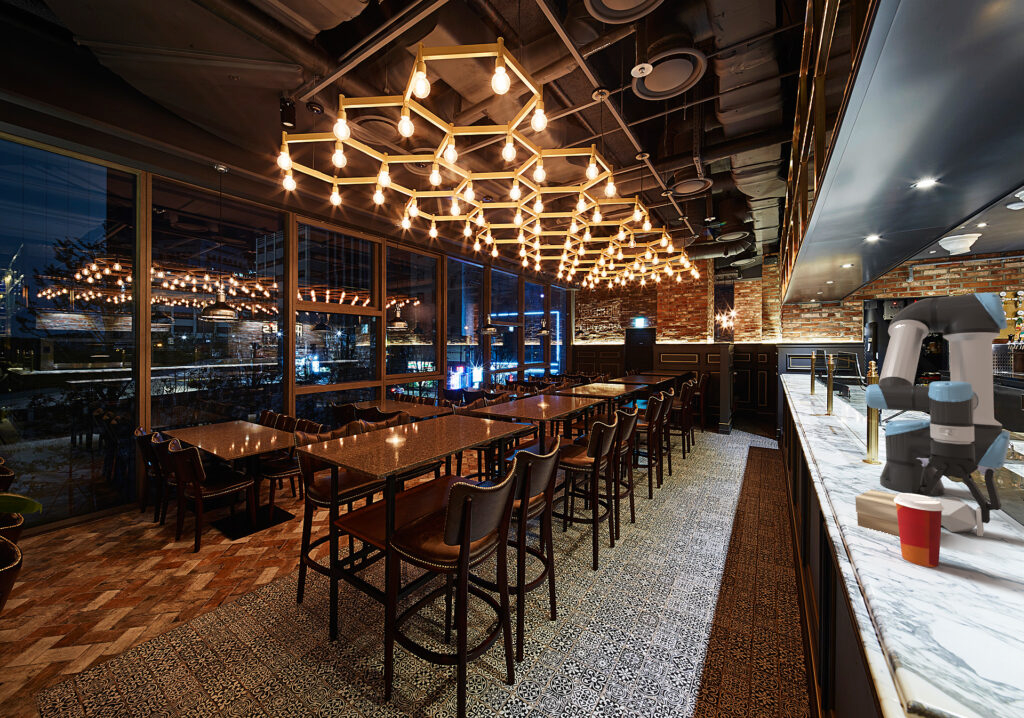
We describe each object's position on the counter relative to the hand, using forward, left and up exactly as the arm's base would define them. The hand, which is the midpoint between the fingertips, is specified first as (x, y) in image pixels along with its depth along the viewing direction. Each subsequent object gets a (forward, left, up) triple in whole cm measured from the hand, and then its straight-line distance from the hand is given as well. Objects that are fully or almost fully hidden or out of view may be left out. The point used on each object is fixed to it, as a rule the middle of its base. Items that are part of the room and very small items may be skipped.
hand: (954, 528), depth 99 cm
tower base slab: (+11, -9, -1) cm, 14 cm away
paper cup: (+28, -1, -1) cm, 28 cm away
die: (0, 0, 0) cm, 0 cm away
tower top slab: (+11, -10, +3) cm, 15 cm away
